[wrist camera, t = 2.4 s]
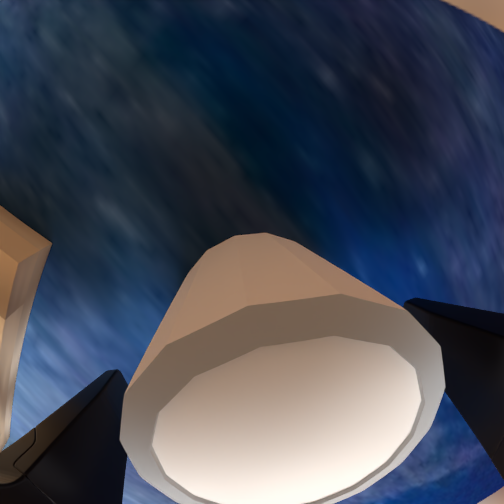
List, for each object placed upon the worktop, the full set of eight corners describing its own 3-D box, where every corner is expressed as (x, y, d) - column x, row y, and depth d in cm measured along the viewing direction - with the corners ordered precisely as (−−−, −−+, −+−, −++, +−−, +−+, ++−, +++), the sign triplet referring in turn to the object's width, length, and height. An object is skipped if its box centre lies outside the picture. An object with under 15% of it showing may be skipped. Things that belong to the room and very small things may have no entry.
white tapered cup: (352, 348, 13) (431, 466, 6) (201, 393, 13) (199, 534, 6) (323, 192, 11) (456, 238, 4) (137, 247, 11) (46, 360, 4)
